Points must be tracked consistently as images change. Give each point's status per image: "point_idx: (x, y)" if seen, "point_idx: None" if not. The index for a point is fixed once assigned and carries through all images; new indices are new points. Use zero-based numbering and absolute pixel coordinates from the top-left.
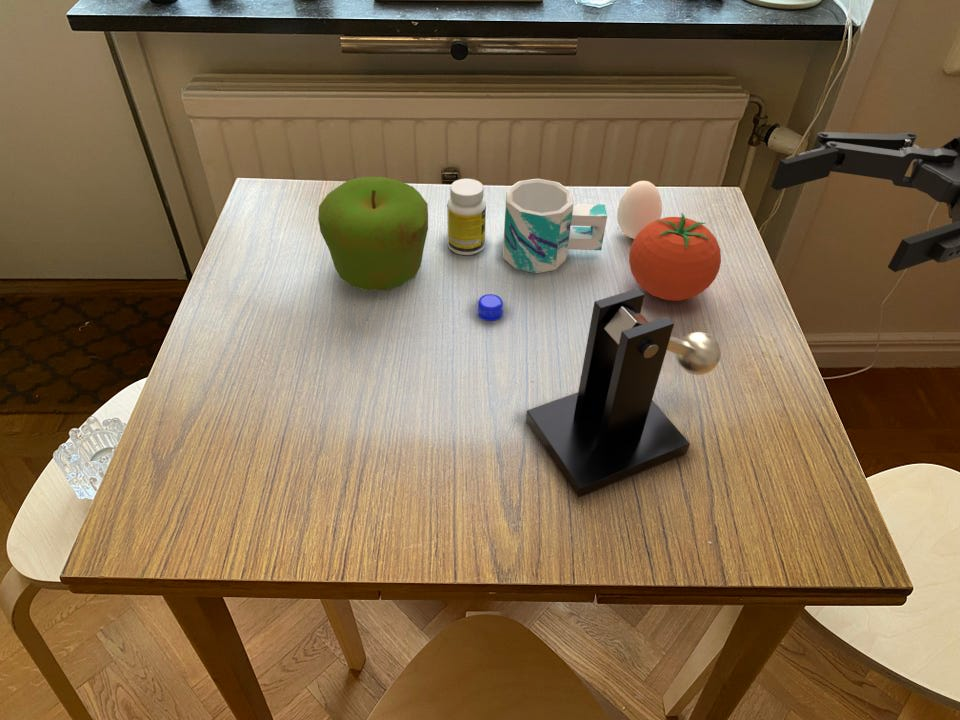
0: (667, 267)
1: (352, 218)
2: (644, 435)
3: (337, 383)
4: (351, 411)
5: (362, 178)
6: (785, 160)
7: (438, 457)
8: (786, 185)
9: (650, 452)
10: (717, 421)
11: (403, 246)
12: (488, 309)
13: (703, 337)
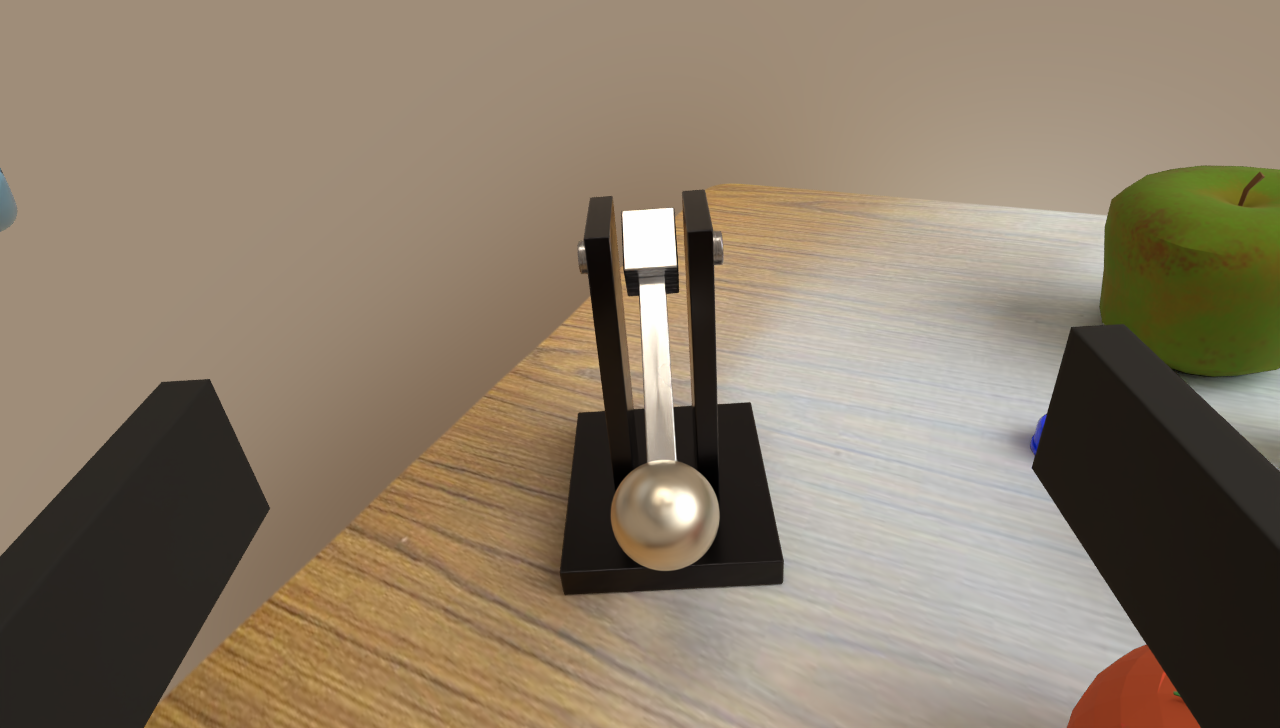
0: (1112, 670)
1: (1168, 176)
2: None
3: (892, 288)
4: (835, 293)
5: None
6: (1122, 339)
7: (724, 339)
8: (1067, 502)
9: (581, 509)
10: (602, 700)
11: (1132, 249)
12: (1040, 420)
13: (662, 474)
